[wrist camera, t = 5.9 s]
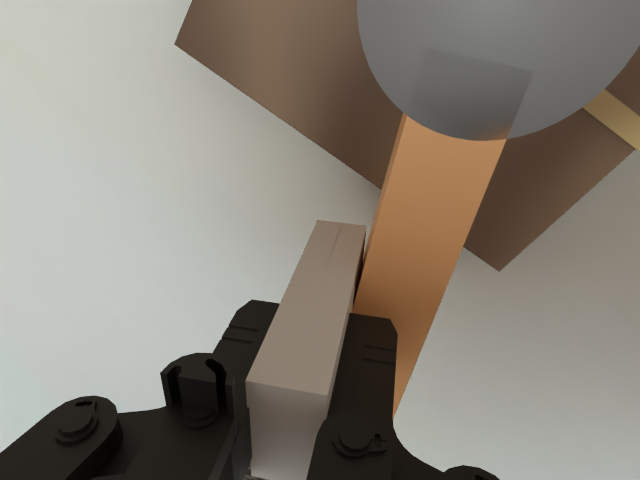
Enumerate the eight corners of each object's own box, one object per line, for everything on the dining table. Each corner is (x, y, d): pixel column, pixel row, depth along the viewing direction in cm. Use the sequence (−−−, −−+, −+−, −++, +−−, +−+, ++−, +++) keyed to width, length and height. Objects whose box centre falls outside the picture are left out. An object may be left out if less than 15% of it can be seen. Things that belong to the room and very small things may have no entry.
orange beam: (406, -148, 10) (398, -223, 7) (630, -106, 10) (745, -163, 6) (307, 309, 17) (277, 389, 13) (437, 346, 16) (441, 438, 13)
